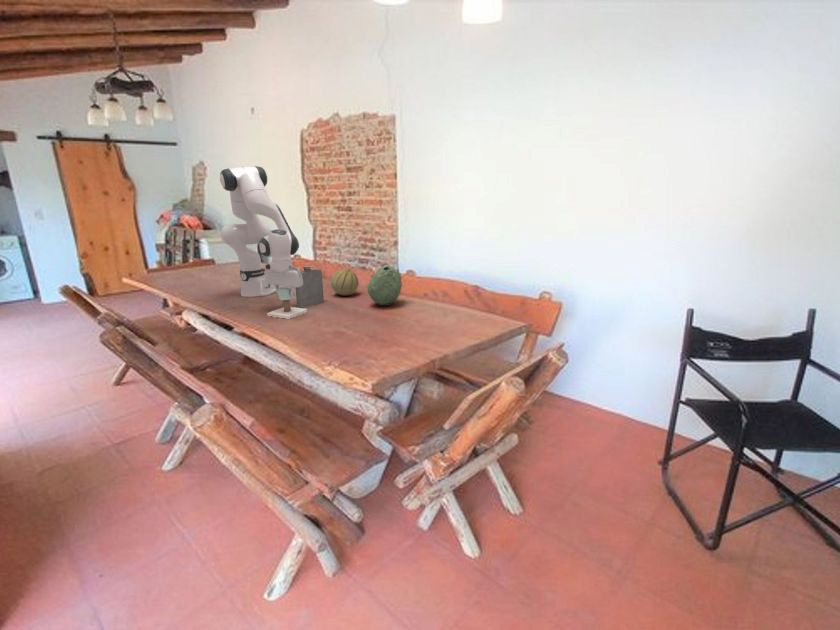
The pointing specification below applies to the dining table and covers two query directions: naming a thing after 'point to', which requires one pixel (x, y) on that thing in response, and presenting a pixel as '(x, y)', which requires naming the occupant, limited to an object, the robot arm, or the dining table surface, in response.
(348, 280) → the cantaloupe
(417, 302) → the dining table surface
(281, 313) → the post stand
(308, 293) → the hip flask
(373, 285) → the green bumpy rounded body
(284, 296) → the cap
